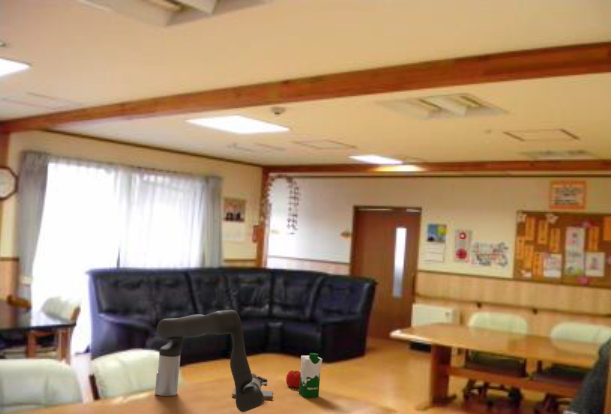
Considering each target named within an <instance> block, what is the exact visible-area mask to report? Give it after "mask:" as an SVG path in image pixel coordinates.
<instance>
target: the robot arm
mask: <svg viewBox="0 0 611 414" xmlns="http://www.w3.org/2000/svg"><path fill="white" fill-rule="evenodd" d="M241 321H242V320H241V317H240V315H239V313H238V311H236V310H235V309H226V310H225V309H224V310H217V311H214V312H211V313H208V314H205V315H204V314H201V313H197V314H190V315H187V316H181V317H174V318H173V317H171V318H170V317H169V318H163V319H161V320H160V321H159V322H158V324H157V326H156V334H157V335H158V337H159V338H160V339H161V340H166V341H168V340H169V342H167V343H166V344H164V345H162V346H160V348H159V354H158V367H157V372H156V377H155V387H154V388H155V389H154V395H157V396H161V397H174V396H176V395H177V394H178V389H179V388H178V387H179V377H180V376H179V374H180V365H181V353H182V349H183V343H184V338H199V337H203V336H205V335H207V334H208V335H219V336H220V335H227V334H228V335H229V334H230V336H231V339H232V350H231V354H230V358H229V359H230V360H229V366H230V367H229V368H230V371H231V374H232V378H233V381H234V382H233V383H234V387H235V388H234V389H235V390H236V398H235V405H236V406H235V407H236V408H237V410H238V411H239V412H241V413H247V412H248V411H251V410H253V409H257V408H259V407H261V406H262V405H263V404H264V401H265V400H264V396H263V393H262V391H263V390H261V389H262V386H264V387H267V386H268V378H267V379H266V378H264V377H261V376H257V374H256V373H252V371H251V367H250V365H249V361H248V357H247V352H246V346H245V345H246V344H245V339H244V333H243V327H242V322H241Z"/></svg>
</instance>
